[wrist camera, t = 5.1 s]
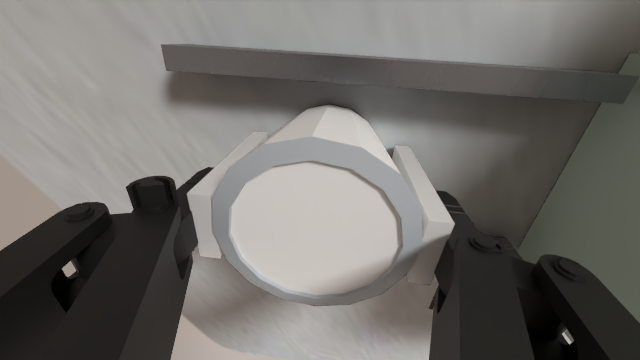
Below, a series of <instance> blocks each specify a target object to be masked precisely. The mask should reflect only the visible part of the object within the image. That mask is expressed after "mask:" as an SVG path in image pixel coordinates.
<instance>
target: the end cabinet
mask: <svg viewBox="0 0 640 360" xmlns="http://www.w3.org/2000/svg"><path fill="white" fill-rule="evenodd" d="M618 74H625V75H633V76H640V54H633V53H630V54H629V56H628V57H627V59H626V61H625V63H624V64H623V66H622V68H621V70H620V71H619V73H618ZM517 252H518V254H519V255H520V256H521V257H522V259H523V260H524V261H527V262H530V263H533V264H536V263H537V261H538V260H539V258H540V257H541V256H542V255H545V254H553V255H558V256H562V257H566V258H568V259H571V260H573V261H575V262H577V263H579V264H580V265H582V266H583V267H585V268H586V269H588V270H589V271H590V272H591V273H593V274H594V275H595V276H596V277H597V278H598V279H599V280H600V281H601V282H602V283H603V284H604V285H605V286H606V288H607V289H608V290H609V291H610V292H611V293H612V294H613V295H614V296H615V297H616V298H617V299H618V300H619V301H620V303H621V304H622V305H623V306H624V307H625V308H626V309H627V310H628V311H629V312H630V313H631V314H632V315H633V316H634V318H635V319H636V320H637V321H638V322H639V323H640V77H639V79H638V80H637V82H636V83H635V85H634V87H633V88H632V90H631V92H630V93H629V95H628V97H627V98H626V100H625V101H624V103H623V104H616V103H603V102H602V103H601V105H600V106H599V108H598V110H597V112H596V113H595V115H594V117H593V119H592V120H591V122H590V124H589V126H588V127H587V129H586V131H585V133H584V134H583V136H582V138H581V140H580V141H579V143H578V145H577V147H576V148H575V150H574V152H573V154H572V155H571V157H570V159H569V161H568V162H567V164H566V166H565V168H564V169H563V171H562V173H561V175H560V176H559V178H558V180H557V182H556V183H555V185H554V187H553V189H552V190H551V192H550V194H549V196H548V197H547V199H546V201H545V203H544V204H543V206H542V208H541V210H540V211H539V213H538V215H537V217H536V218H535V220H534V222H533V224H532V225H531V227H530V229H529V231H528V232H527V234H526V236H525V238H524V239H523V241H522V243H521V245H520V246H519V248H518V250H517ZM564 332H565V334H566V335H567V336H568V338H569V339H570V341H571V342H573V341H574V339H573V338H572V336H571V335H570V333H569V332H568V330H567V329H566V330H565V331H564Z"/></svg>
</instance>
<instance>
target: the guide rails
mask: <svg viewBox="0 0 640 360" xmlns="http://www.w3.org/2000/svg"><path fill="white" fill-rule="evenodd" d="M161 48H162V52H163V57H164V62H165V66H166V71H178V72H192V73H206V74H220V75H233V76H247V77H261V78H274V79H288V80H302V81H315V82H329V83H343V84H356V85H370V86H384V87H397V88H411V89H425V90H439V91H452V92H466V93H480V94H493V95H507V96H521V97H534V98H548V99H562V100H575V101H589V102H603V103H616V104H623V103H624V101H625V100H626V98H627V97H628V95H629V93H630V92H631V90H632V88H633V87H634V85H635V83H636V82H637V80H638V79H639V77H640V76H633V75H625V74H616V73H607V72H598V71H586V70H571V69H555V68H540V67H525V66H510V65H495V64H479V63H464V62H449V61H434V60H418V59H403V58H388V57H373V56H357V55H342V54H327V53H312V52H296V51H281V50H266V49H251V48H235V47H220V46H205V45H190V44H169V45H161ZM490 237H492V236H490ZM492 238H493V239H495V240H497V241H498V242H499V243H501V244H502V245H503V246H504V247H505V249H506V251H507V253H508V255H509V256H511V257H514V258H517V259H520V260H523V259H522V257H521V256H520V255H519V254H518V252H517V251H516V250H515V249H514V247H513V246H512V245H511V244H510V242H509V241H508V240H507V239H506V238H501V237H492Z"/></svg>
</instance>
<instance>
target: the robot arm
mask: <svg viewBox="0 0 640 360" xmlns="http://www.w3.org/2000/svg"><path fill="white" fill-rule="evenodd" d="M267 138H268V133H266V132H256V131H254V132H253V133H252V134H251V135H249V136H248V137H247V138H246V139H245V140H244V141H243V142H242V143H241V144H240V145H239V146H238V147H236V148H235V149H234V150H233V151H232V152H231V153H230V154H229V155H228V156H227V157H226V158H225V159H223V160H222V161H221V162H220V163H219V164H218V165H217V166H216V167H215V168H211V167H208V168H206V169H203V170H201V171H199V172H197V173H196V174H195V175H194V176H192V177H191V179H189V180H188V181H187V182H185V184H183V185H182V186H181V187H180V188H178V189H177V190H176V186H175V182H174V180H173V179H172V178H170V177H166V176H151V177H146V178H142V179H138V180H136V181H134V182H132V183H130V184H129V185H128V186H127V187H126V189H127V191H128V194H129V197H130V200H131V203H132V206H133V209H134V210H133V211H132V213H124V214H111V215H110V213H109V210H108V208H107V206H106V205H105V204H104V203H99V202H85V203H82V204H81V203H80V204H76V205H74V206H72V207H69V208H66V209H64V210H62V211H60V212H59V213H57V214H55V215H54V216H52V217H51V218H49V219H48V220H46V221H45V222H43V223H42V224H40V225H39V226H37V227H36V228H34V229H33V230H31V231H30V232H28V233H27V234H25V235H23V236H22V237H20V238H19V239H18V240H16V241H14V242H13V243H11V244H10V245H8V246H7V247H5V248H4V249H2V250H1V251H0V360H170V359H171V354H172V350H173V346H174V341H175V337H176V333H177V328H178V324H179V320H180V316H181V312H182V307H183V303H184V299H185V294H186V290H187V286H188V281H189V277H190V273H191V269H192V264H193V258H192V254H191V253H192V251H193V250H194V249H195V247H196V246H197V245H198V248H199V253H200V256H203V257H211V258H219V259H220V258H221V256H222V255H223V251H222V249H221V247H220V245H219V243H218V241H217V239H216V237H215V235H214V233H213V226H212V198H213V196H214V194H215V192H216V190H217V189H218V187H219V185H220V183H221V181H222V179H223V177H224V175H225V174H226V172H227V170H228V168H229V167H230V166H231V165H233V164H234V163H235V162H237V161H238V160H239V159H241V158H242V157H243V156H245V155H246V154H247V153H248V152H250V151H251V150H252V149H254V148H255V147H256V146H258V145H259V144H260V143H262V142H263V141H264V140H266V139H267ZM392 161H393V162H394V164H395V165H396V167H397V168H398V170H399V172H400V173H401V175H402V176H403V178H404V180H405V182H406V183H407V185H408V187H409V188H410V190H411V192H412V194H413V195H414V197H415V199H416V200H417V202H418V204H419V206H420V207H421V209H422V229H423V246H422V248H421V249H420V251H419V253H418V255H417V257H416V259H415V261H414V263H413V265H412V267H411V268H410V270H409V272H408V274H407V279H408V283H416V284H424V285H430V284H431V282H432V279H433V277H434V274H435V275H436V278H437V280H438V283H439V286H438V288H437V290H436V293H435V295H434V297H433V300H432V302H431V305H430V307H429V309H433V307H434V311H433V322H432V333H431V344H430V355H429V360H640V323H639V322H638V321H637V320H636V319H635V318H634V316H633V315H632V314H631V313H630V312H629V311H628V310H627V309H626V308H625V307H624V306H623V305H622V304H621V303H620V301H619V300H618V299H617V298H616V297H615V296H614V295H613V294H612V293H611V292H610V291H609V290H608V289H607V288H606V286H605V285H604V284H603V283H602V282H601V281H600V280H599V279H598V278H597V277H596V276H595V275H594V274H593V273H591V272H590V271H589V270H588V269H586V268H585V267H583V266H582V265H580V264H579V263H577V262H575V261H573V260H571V259H568V258H566V257H562V256H558V255H553V254H545V255H542V256H541V257H540V258H539V260H538V261H537V263H536V264H533V263H530V262H527V261H524V260H520V259H517V258H514V257H511V256H509V255H508V253H507V251H506V249H505V247H504V246H503V245H502V244H501V243H499V242H498V241H497V240H495V239H493V238H492V237H490V236H488V235H485V234H483V233H479V232H478V231H477V229H476V228H475V226H474V225H473V223H472V222H471V221H470V219H469V218H468V216H467V215H466V214H465V212H464V210H463V209H462V208H461V206H460V205H459V203H458V202H457V200H456V199H455V198H454V197H453V196H451V195H450V194H449V193H447V192H444V191H435V189H434V187H433V186H432V184H431V182H430V181H429V179H428V177H427V175H426V174H425V172H424V170H423V169H422V167H421V165H420V164H419V162H418V160H417V158H416V157H415V155H414V153H413V152H412V150H411V148H410V147H409V146H400V145H395V147H394V151H393V156H392ZM69 261H71V262H72V264H73V265H74V267H75V269H76V272H75V273H74V274H72V275H71V276H69V277H66V276H65V274H64V272H63V270H62V268H63V267H64V266H65V265H66V264H67V263H68V262H69ZM566 329H567V330H568V332H569V333H570V335H571V336H572V338H573V339H574V341H573V342H572V343H571V344H570V345H569V344H568V342H567V341H566V340H565V338H564V337H563V335H562V333H563V332H564V331H565V330H566Z"/></svg>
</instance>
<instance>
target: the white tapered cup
mask: <svg viewBox="0 0 640 360" xmlns="http://www.w3.org/2000/svg"><path fill="white" fill-rule="evenodd" d="M212 226H213V233H214V235H215V237H216V239H217V241H218V243H219V245H220V247H221V249H222V251H223V253H224V255H225V257H226V259H227V261H228V262H229V263H230V264H231V265H232V266H233V267H234V268H235V269H237V270H238V271H239V272H240V273H241V274H242V275H243V276H244V277H245V278H246V279H247V280H248V281H249V282H250V283H251V284H253V285H255V286H257V287H259V288H261V289H263V290H265V291H267V292H269V293H271V294H273V295H275V296H277V297H279V298H281V299H285V300H289V301H294V302H299V303H303V304H308V305H312V306H330V305H350V304H353V303H356V302H359V301H362V300H365V299H368V298H371V297H374V296H377V295H380V294H382V293H384V292H385V291H386V290H388V289H389V288H390V287H391V286H393V285H394V284H395V283H397V282H398V281H399V280H400V279H402V278H403V277H404V276H406V275H407V274H408V272H409V270H410V268H411V267H412V265H413V263H414V261H415V259H416V257H417V255H418V253H419V251H420V249H421V248H422V246H423V229H422V209H421V207H420V206H419V204H418V202H417V200H416V199H415V197H414V195H413V194H412V192H411V190H410V188H409V187H408V185H407V183H406V182H405V180H404V178H403V176H402V175H401V173H400V172H399V170H398V168H397V167H396V165H395V164H394V162H393V161H392V159H391V157H390V156H389V154H388V153H387V151H386V150H385V148H384V146H383V145H382V143H381V142H380V140H379V139H378V137H377V135H376V134H375V132H374V131H373V129H372V128H371V126H370V124H369V123H368V121H366V120H365V119H364V118H362V117H361V116H359V115H358V114H357V113H355V112H354V111H352V110H351V109H348V108H343V107H339V106H334V105H330V104H329V105H323V106H318V107H313V108H308V109H307V110H305V111H304V112H302V113H301V114H299V115H298V116H296V117H295V118H293V119H292V120H290V121H289V122H288V123H287V124H285V125H284V126H283V127H281V128H280V129H279V130H277V131H276V132H275V133H273V134H272V135H271V136H269V137H268V138H267V139H266V140H264V141H263V142H262V143H260V144H259V145H258V146H256V147H255V148H254V149H252V150H251V151H250V152H248V153H247V154H246V155H245V156H243V157H242V158H241V159H239V160H238V161H237V162H235V163H234V164H233V165H231V166H230V167H229V168H228V170H227V172H226V174H225V175H224V177H223V179H222V181H221V183H220V185H219V187H218V189H217V190H216V192H215V194H214V196H213V198H212Z"/></svg>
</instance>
